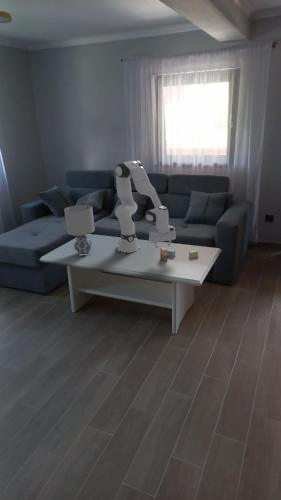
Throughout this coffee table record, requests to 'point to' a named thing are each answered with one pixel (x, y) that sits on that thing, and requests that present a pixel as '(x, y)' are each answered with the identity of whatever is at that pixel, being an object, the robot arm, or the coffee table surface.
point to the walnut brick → (163, 257)
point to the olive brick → (193, 254)
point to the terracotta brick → (163, 251)
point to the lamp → (80, 226)
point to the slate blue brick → (171, 253)
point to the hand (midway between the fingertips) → (162, 246)
